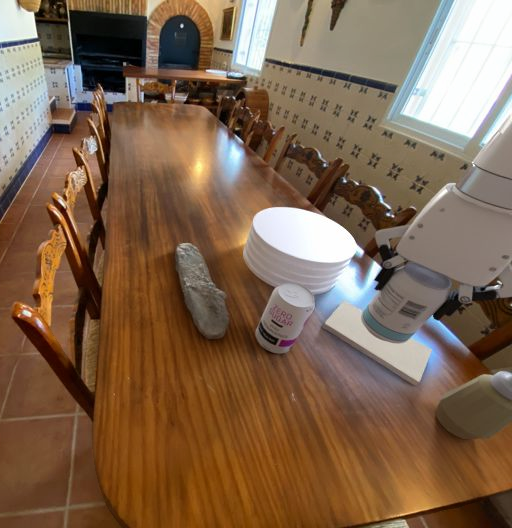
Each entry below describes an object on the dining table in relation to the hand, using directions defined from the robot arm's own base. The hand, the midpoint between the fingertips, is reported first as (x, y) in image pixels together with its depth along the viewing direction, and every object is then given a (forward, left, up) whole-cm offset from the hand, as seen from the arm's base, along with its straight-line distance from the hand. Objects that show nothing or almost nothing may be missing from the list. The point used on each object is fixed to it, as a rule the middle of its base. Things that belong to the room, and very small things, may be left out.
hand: (407, 299), depth 44 cm
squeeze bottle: (-19, -11, -26) cm, 34 cm away
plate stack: (+26, -31, -26) cm, 48 cm away
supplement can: (+14, -1, -26) cm, 29 cm away
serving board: (-2, -20, -26) cm, 32 cm away
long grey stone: (+37, 0, -26) cm, 45 cm away
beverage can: (0, 0, -7) cm, 7 cm away
